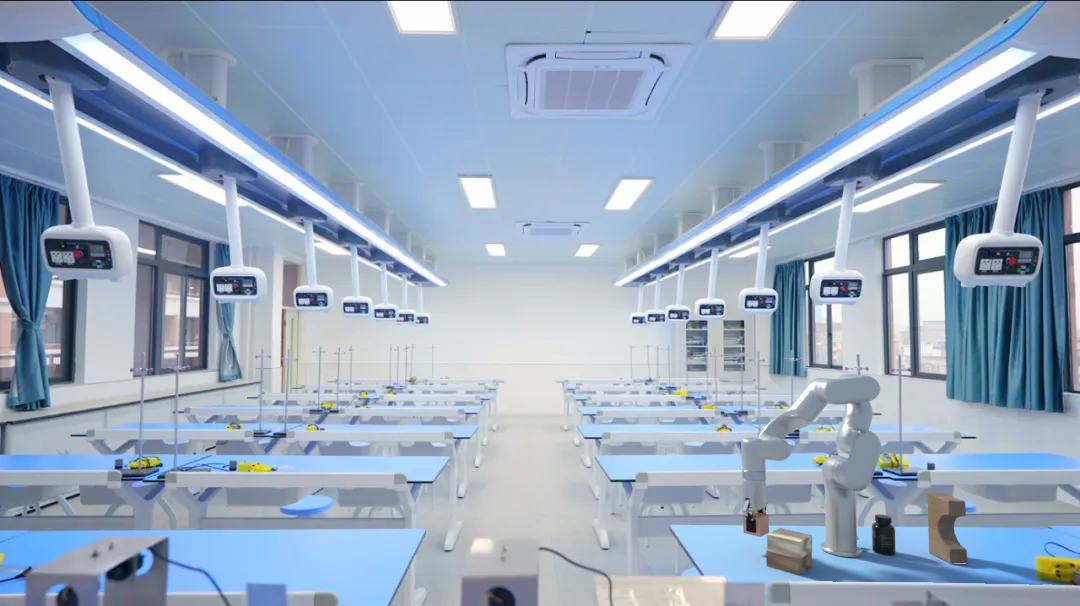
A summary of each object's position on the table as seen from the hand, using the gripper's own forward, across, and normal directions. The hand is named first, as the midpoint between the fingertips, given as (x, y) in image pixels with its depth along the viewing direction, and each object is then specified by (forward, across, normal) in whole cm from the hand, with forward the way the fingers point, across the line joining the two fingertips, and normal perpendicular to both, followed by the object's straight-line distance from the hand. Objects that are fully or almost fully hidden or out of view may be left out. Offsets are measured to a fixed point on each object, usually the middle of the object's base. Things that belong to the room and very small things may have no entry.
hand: (756, 529), depth 201 cm
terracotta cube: (+1, 0, 0) cm, 1 cm away
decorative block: (+10, -43, +44) cm, 63 cm away
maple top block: (+3, +5, +13) cm, 15 cm away
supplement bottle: (+9, -33, +28) cm, 45 cm away
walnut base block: (+8, +5, +13) cm, 16 cm away
